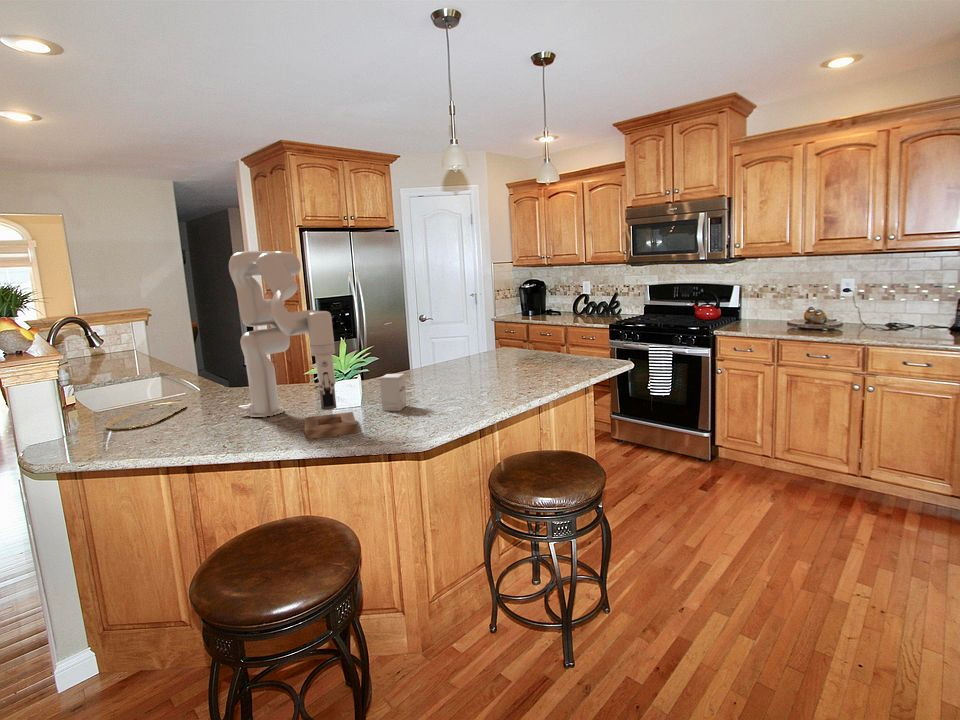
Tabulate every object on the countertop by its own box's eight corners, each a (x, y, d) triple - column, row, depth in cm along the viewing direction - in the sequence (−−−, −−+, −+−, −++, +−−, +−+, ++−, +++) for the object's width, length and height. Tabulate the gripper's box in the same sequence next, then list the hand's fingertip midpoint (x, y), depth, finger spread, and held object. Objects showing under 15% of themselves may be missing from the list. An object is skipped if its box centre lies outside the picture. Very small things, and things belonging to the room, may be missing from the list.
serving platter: (94, 433, 187) (93, 429, 187) (150, 407, 222) (149, 403, 221) (148, 430, 188) (147, 425, 188) (195, 404, 222) (195, 401, 222)
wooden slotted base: (305, 440, 167) (304, 430, 166) (305, 426, 182) (304, 417, 181) (357, 432, 171) (356, 423, 171) (353, 420, 186) (352, 411, 186)
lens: (321, 410, 172) (318, 386, 171) (321, 407, 177) (318, 383, 175) (337, 408, 174) (334, 384, 172) (336, 405, 178) (333, 382, 177)
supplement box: (400, 411, 195) (398, 377, 193) (381, 410, 197) (378, 377, 195) (407, 405, 202) (404, 373, 200) (388, 405, 204) (386, 373, 202)
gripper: (336, 352, 165) (341, 408, 168) (333, 345, 181) (338, 397, 184) (310, 354, 163) (317, 412, 166) (310, 347, 179) (316, 400, 182)
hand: (328, 403), depth 175 cm, fingers closed on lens, 4 cm apart
